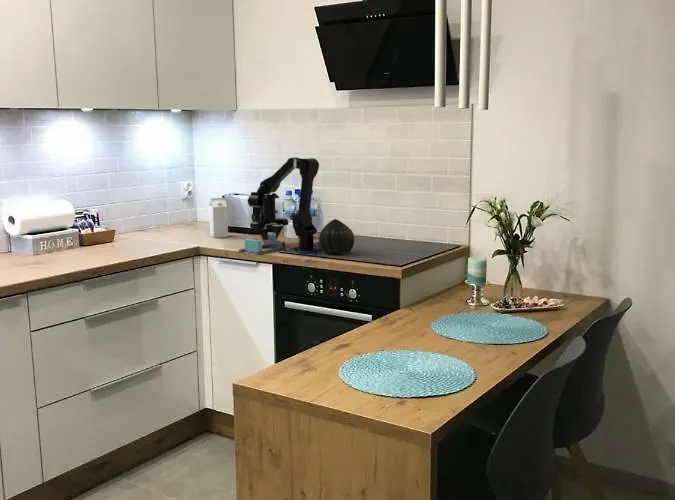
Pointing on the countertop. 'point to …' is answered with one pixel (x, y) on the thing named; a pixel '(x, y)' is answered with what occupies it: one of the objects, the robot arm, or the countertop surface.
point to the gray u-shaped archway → (270, 246)
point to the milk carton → (218, 218)
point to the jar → (271, 236)
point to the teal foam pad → (253, 245)
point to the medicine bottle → (291, 229)
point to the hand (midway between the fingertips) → (269, 242)
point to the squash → (336, 238)
